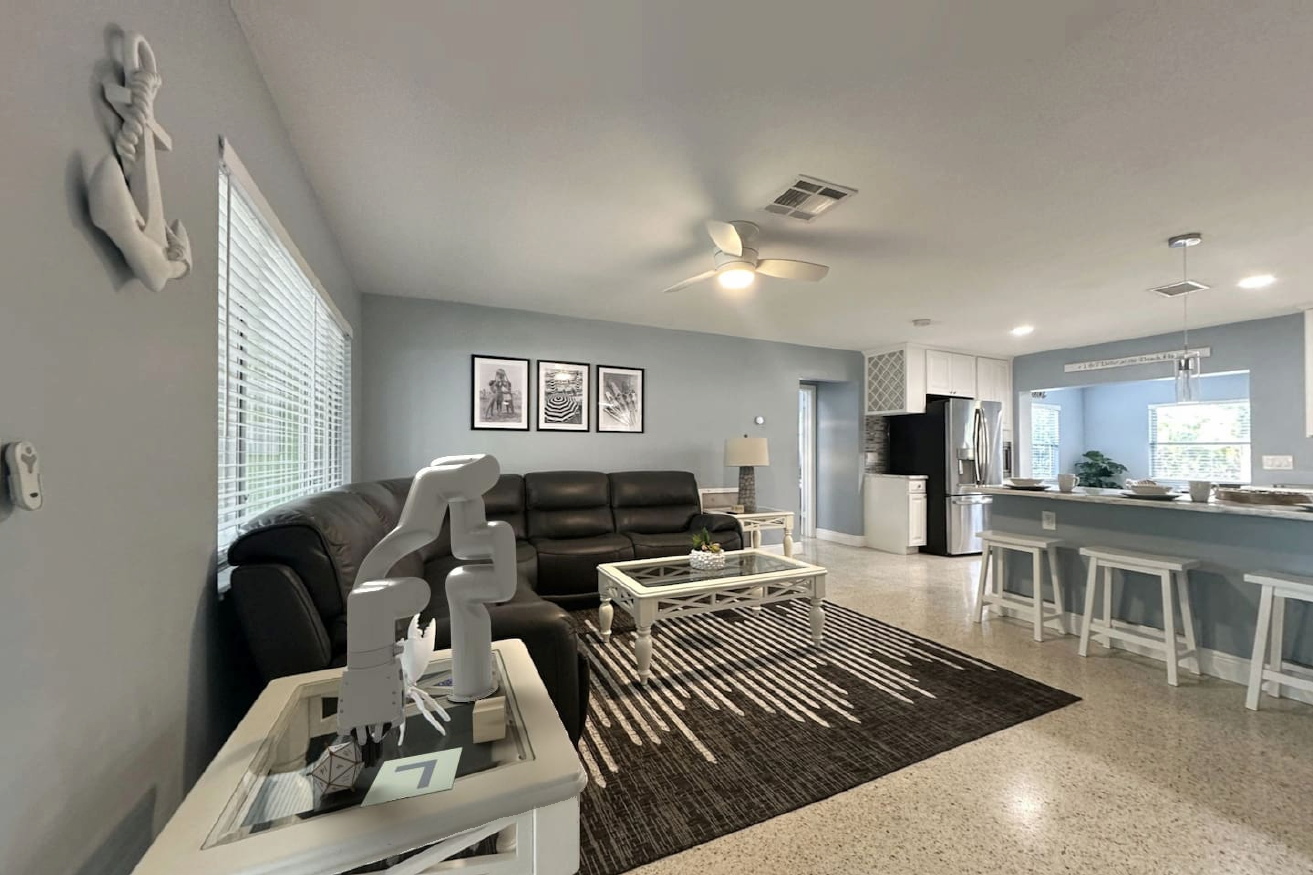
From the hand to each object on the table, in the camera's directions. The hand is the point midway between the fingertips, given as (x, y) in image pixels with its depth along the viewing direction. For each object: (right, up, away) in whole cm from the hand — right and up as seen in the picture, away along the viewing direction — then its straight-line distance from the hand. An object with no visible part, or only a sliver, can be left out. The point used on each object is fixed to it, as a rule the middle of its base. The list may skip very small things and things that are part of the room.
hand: (372, 763), depth 88 cm
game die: (-4, -4, -2) cm, 6 cm away
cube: (+16, -4, +15) cm, 22 cm away
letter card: (+7, -3, +2) cm, 8 cm away
